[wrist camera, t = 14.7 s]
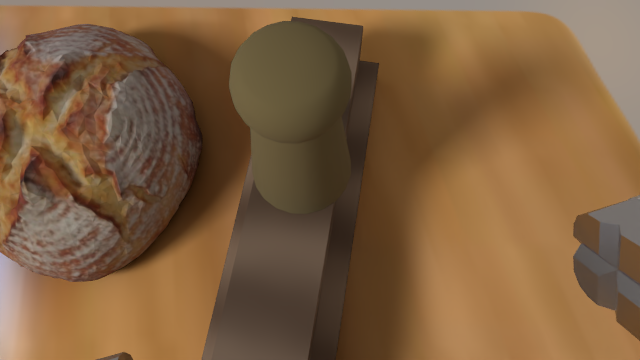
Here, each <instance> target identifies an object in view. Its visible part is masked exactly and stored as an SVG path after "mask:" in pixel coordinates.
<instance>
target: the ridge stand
mask: <svg viewBox="0 0 640 360" xmlns="http://www.w3.org/2000/svg"><path fill="white" fill-rule="evenodd" d="M291 21H298V22H303V23H307V24H310V25H314V26H316V27H318V28H319V29H321V30H323V31H324V32H326V33H327V34H329V35H330V36H332V37H333V38H334V39H335V40H336V42H337V43H338V44H339V45H340V46H341V48H342V49H343V50H344V52H345V55H346V58H347V61H348V63H349V66H350V69H351V72H352V87H351V97H350V99H349V102H348V104H347V107H346V109H345V112H344V114H343V115H342V121H343V126H344V131H345V135H346V140H347V145H348V150H349V154H350V159H351V176H350V179H349V181H348V184H347V187H346V189H345V191H344V192H343V193H342V194H341V196H340V197H339V198H338V199H337V200H336V201H335V202H334V203H332V204H331V205H329V206H328V207H326V208H325V209H323V210H320V211H316V212H312V213H309V214H293V213H289V212H286V211H283V210H280V209H277V208H275V207H274V206H273V205H271V204H270V203H269V202H267V201H266V200H265V199H264V198H263V197H262V195H261V194H260V192H259V191H258V189H257V188H256V185H255V181H254V177H253V173H252V155H251V158H250V162H249V166H248V170H247V174H246V178H245V182H244V186H243V191H242V195H241V199H240V203H239V207H238V211H237V215H236V219H235V224H234V228H233V232H232V236H231V240H230V244H229V248H228V252H227V257H226V261H225V265H224V269H223V273H222V277H221V281H220V285H219V290H218V294H217V298H216V302H215V306H214V310H213V314H212V318H211V323H210V327H209V331H208V335H207V339H206V343H205V347H204V352H203V356H202V360H335V359H336V352H337V345H338V339H339V332H340V325H341V318H342V311H343V305H344V298H345V291H346V284H347V277H348V271H349V264H350V257H351V250H352V243H353V237H354V230H355V223H356V216H357V209H358V203H359V196H360V189H361V182H362V175H363V169H364V162H365V155H366V148H367V141H368V135H369V128H370V121H371V114H372V107H373V101H374V94H375V87H376V80H377V73H378V66H379V63H373V62H366V61H360V52H361V43H362V33H363V26H359V25H352V24H344V23H336V22H328V21H320V20H313V19H305V18H297V17H292V19H291Z"/></svg>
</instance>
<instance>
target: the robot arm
mask: <svg viewBox="0 0 640 360" xmlns="http://www.w3.org/2000/svg"><path fill="white" fill-rule="evenodd" d="M573 236H574V237H575V238H576V239H577V240H578V241H579V242H580V243H581V245H580V246H579V248H578V250H577V251H576V253H575V255H574V256H573V259H574V273H575V275H576V278H577V280H578V283H579V285H580V287H581V288H582V289H583V291H584V292H585V293H586V295H587V296H588V297H589V298H590V299H591V300H593V301H594V302H595V303H596V304H597V305H599V306H602V307H606V308H609V309H612V310H615V313H616V320H617V322H618V323H619V324H620V325H622V326H623V327H624V328H625V329H626V330H628V331H629V332H630V333H631V334H632V335H633V336H635V337H636V338H637V339H638V340H639V341H640V195H639V196H636V197H633V198H630V199H628V200H627V201H623V202H620V203H617V204H614V205H610V206H607V207H604V208H601V209H597V210H594V211H591V212H587V213H584V214H581V215H578V216H577V217H576V220H575V222H574V233H573ZM97 360H133V358H132V357H131V355H130V354H128V353H125V352H122V353H119V354H115V355H111V356H108V357H104V358H101V359H97Z"/></svg>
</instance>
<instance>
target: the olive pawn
mask: <svg viewBox="0 0 640 360" xmlns="http://www.w3.org/2000/svg"><path fill="white" fill-rule="evenodd" d="M351 87H352V72H351V69H350V66H349V63H348V61H347V58H346V55H345V52H344V50H343V49H342V48H341V46H340V45H339V44H338V43H337V42H336V40H335V39H334V38H333V37H332V36H330V35H329V34H327V33H326V32H324V31H323V30H321V29H319V28H318V27H316V26H314V25H310V24H307V23H303V22H298V21H282V22H278V23H274V24H270V25H267V26H265V27H263V28H261V29H259V30H258V31H256V32H254V33H253V34H252V35H251V36H250V37H249V38H248V39H247V40H246V41H245V42H244V43H243V44H242V45H241V46H240V47H239V49H238V51H237V53H236V55H235V57H234V59H233V61H232V62H231V70H230V78H229V89H230V93H231V97H232V101H233V104H234V106H235V109H236V111H237V112H238V114H239V115H240V116H241V118H242V119H243V121H244V122H245V124H247V125H248V126H249V127H250V135H251V155H252V173H253V177H254V181H255V185H256V188H257V189H258V191H259V192H260V194H261V195H262V197H263V198H264V199H265V200H266V201H267V202H269V203H270V204H271V205H273V206H274V207H275V208H277V209H280V210H283V211H286V212H289V213H293V214H309V213H312V212H316V211H320V210H323V209H325V208H326V207H328V206H329V205H331V204H332V203H334V202H335V201H336V200H337V199H338V198H339V197H340V196H341V194H342V193H343V192H344V191H345V189H346V187H347V184H348V181H349V179H350V176H351V159H350V154H349V150H348V145H347V140H346V135H345V131H344V126H343V121H342V115H343V114H344V112H345V109H346V107H347V104H348V102H349V99H350V97H351Z"/></svg>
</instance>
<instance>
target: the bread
mask: <svg viewBox="0 0 640 360" xmlns="http://www.w3.org/2000/svg"><path fill="white" fill-rule="evenodd" d="M201 150H202V134H201V131H200V128H199V126H198V124H197V121H196V118H195V111H194V107H193V102H192V101H191V99H190V97H189V96H188V94H187V92H186V91H185V89H184V87H183V86H182V85H181V83H180V82H179V80H178V79H177V77H176V76H175V75H174V73H173V72H172V71H171V70H170V69H169V68H168V67H166V66H165V65H164V64H163V63H162V62H160V61H159V60H158V59H157V57H156V55H155V54H154V52H153V50H152V49H151V48H150V47H149V46H148V45H147V44H146V43H144V42H142V41H141V40H139V39H137V38H135V37H132V36H130V35H127V34H125V33H123V32H121V31H117V30H115V29H113V28H108V27H102V26H97V25H91V24H81V25H74V26H70V27H65V28H61V29H56V30H52V31H47V32H43V33H38V34H32V35H26V39H24V40H23V41H22V42H21V43H20V44H19V46H18V47H17V48H15V49H11V50H10V51H8V50H7V51H5V52H4V53H3V54H2V55H0V252H1V253H2V254H4V255H5V256H7V257H8V258H10V259H12V260H13V261H15V262H17V263H18V264H19V265H20V266H22V267H26V268H27V269H29V270H31V271H32V272H35V273H38V274H41V275H46V276H51V277H53V278H61V279H65V280H68V281H71V282H78V281H93V280H97V279H100V278H103V277H105V276H107V275H109V274H111V273H113V272H114V271H116V270H118V269H120V268H123V267H124V266H126V265H127V264H129V263H130V262H131V261H132V260H134V259H135V258H137V257H139V256H140V255H141V254H142V253H143V252H144V251H145V250H146V249H147V248H148V247H149V246H150V245H151V244H152V243H153V242H154V241H155V239H156V238H157V237H158V236H159V234H160V233H161V232H162V231H163V230H164V229H165V228H166V227H167V226H168V224H169V221H170V219H171V218H172V216H173V215H174V214H175V212H176V211H177V209H178V208H179V204H180V202H181V201H182V200H183V199H184V197H185V195H186V194H187V192H188V190H189V188H190V186H191V184H192V181H193V178H194V175H195V172H196V170H197V167H198V160H199V156H200V153H201Z"/></svg>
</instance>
